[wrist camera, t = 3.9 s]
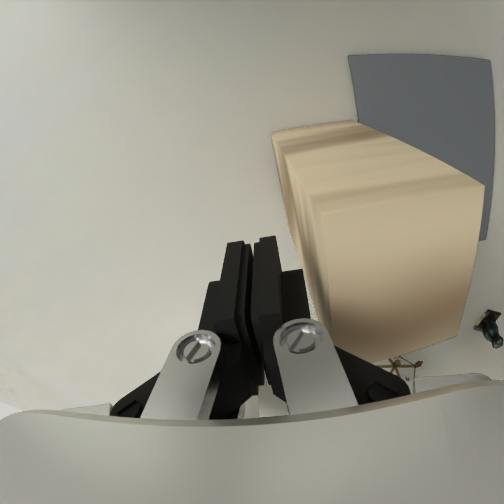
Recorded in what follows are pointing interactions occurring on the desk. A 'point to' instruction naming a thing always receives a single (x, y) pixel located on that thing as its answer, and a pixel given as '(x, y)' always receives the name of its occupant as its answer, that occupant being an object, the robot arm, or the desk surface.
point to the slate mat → (432, 109)
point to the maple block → (379, 236)
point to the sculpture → (490, 328)
